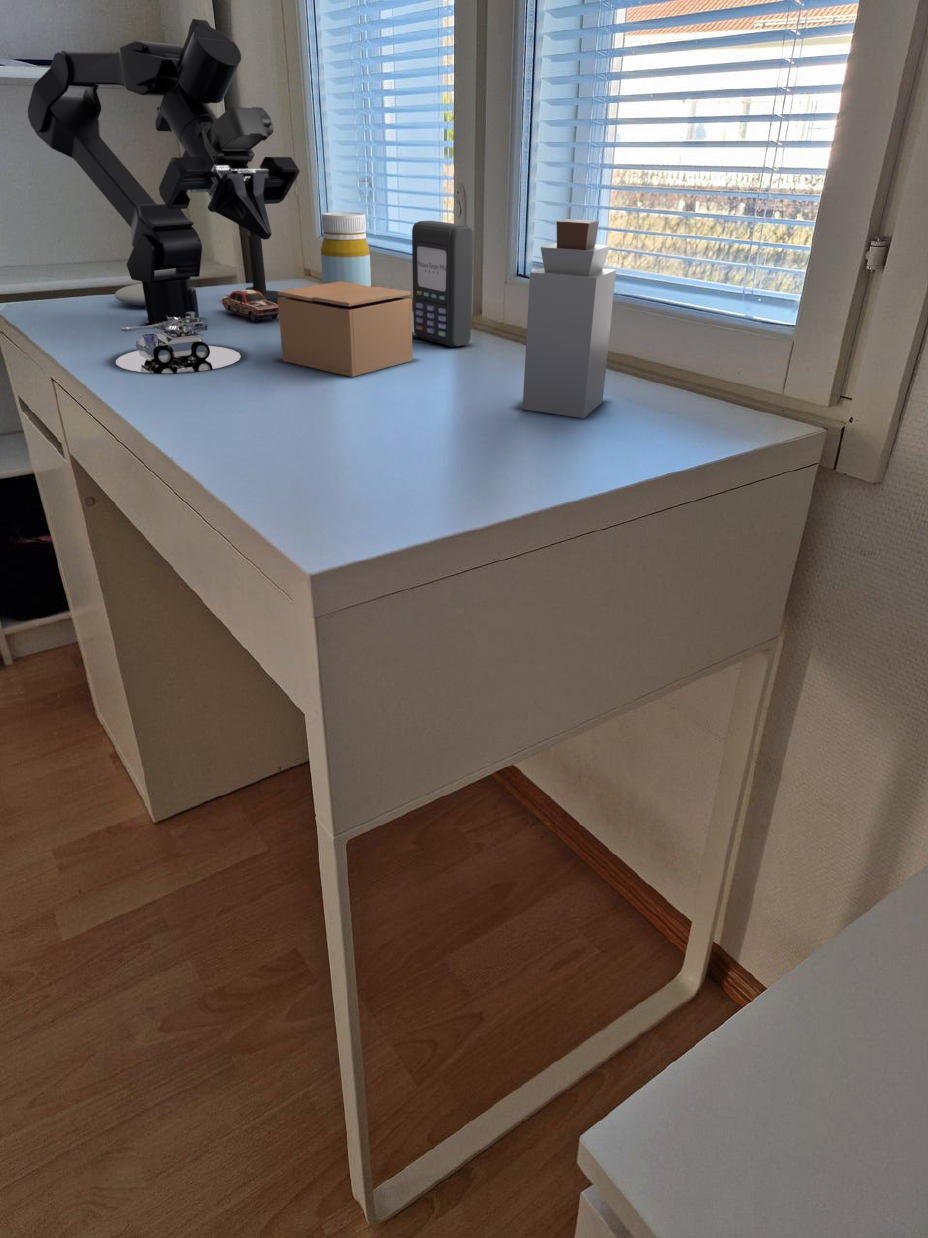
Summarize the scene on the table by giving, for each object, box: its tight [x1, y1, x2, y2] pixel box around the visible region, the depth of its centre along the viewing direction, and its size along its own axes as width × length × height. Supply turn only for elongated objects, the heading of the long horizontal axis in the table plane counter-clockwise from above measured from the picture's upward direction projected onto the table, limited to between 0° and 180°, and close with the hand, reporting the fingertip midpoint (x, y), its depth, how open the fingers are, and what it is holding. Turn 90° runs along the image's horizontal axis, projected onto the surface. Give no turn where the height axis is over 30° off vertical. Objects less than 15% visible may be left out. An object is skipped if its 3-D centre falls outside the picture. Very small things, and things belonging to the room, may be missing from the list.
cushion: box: [114, 283, 146, 307], centre depth 136 cm, size 12×12×3 cm
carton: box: [278, 286, 413, 378], centre depth 103 cm, size 12×11×8 cm
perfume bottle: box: [522, 218, 617, 419], centre depth 85 cm, size 7×7×18 cm
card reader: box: [411, 220, 475, 348], centre depth 113 cm, size 9×4×15 cm, turn 41°
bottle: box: [320, 211, 372, 287], centre depth 122 cm, size 7×7×15 cm
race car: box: [221, 289, 279, 323], centre depth 128 cm, size 5×12×5 cm, turn 36°
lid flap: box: [277, 281, 369, 301], centre depth 103 cm, size 6×11×1 cm, turn 143°
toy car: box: [115, 309, 241, 374], centre depth 104 cm, size 15×15×5 cm
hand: (268, 236), depth 106 cm, fingers closed
